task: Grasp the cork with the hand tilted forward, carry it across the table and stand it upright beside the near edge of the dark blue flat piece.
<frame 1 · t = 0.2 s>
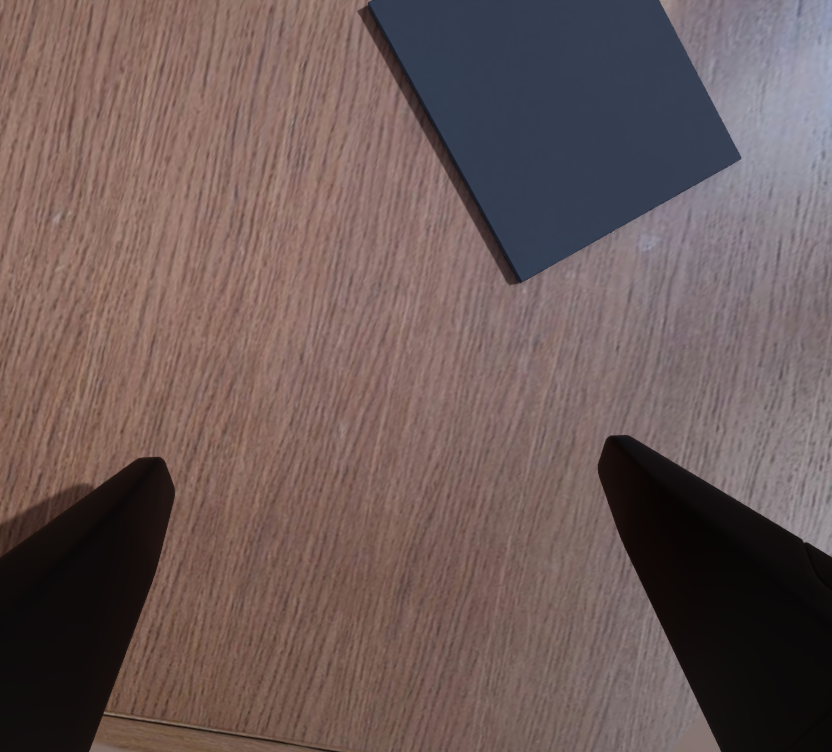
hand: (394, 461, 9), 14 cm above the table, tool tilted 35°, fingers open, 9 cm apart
dark blue flat piece: (558, 87, 24), on the table
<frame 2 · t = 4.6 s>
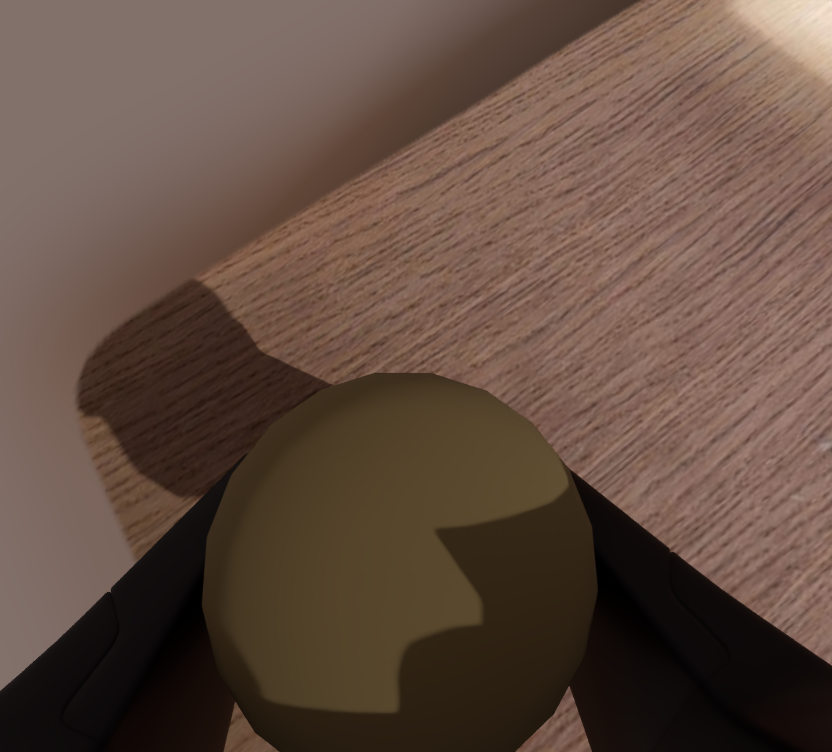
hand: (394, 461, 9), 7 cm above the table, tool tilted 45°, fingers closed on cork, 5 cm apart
cork: (388, 509, 16), on the table, touching gripper
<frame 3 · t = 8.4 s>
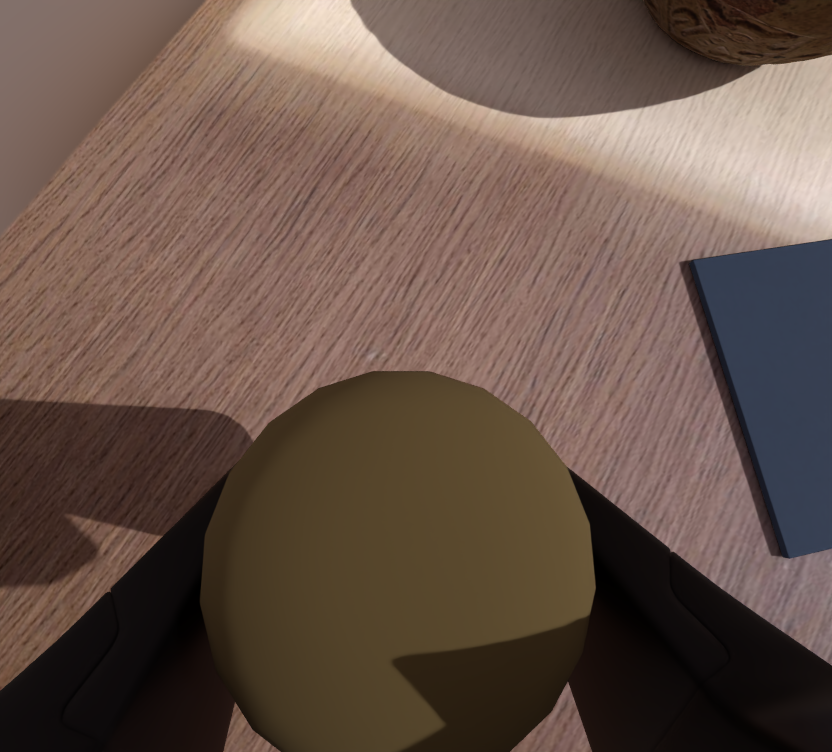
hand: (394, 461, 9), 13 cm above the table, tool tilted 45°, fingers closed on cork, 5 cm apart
cork: (388, 508, 16), point 6 cm above the table, touching gripper
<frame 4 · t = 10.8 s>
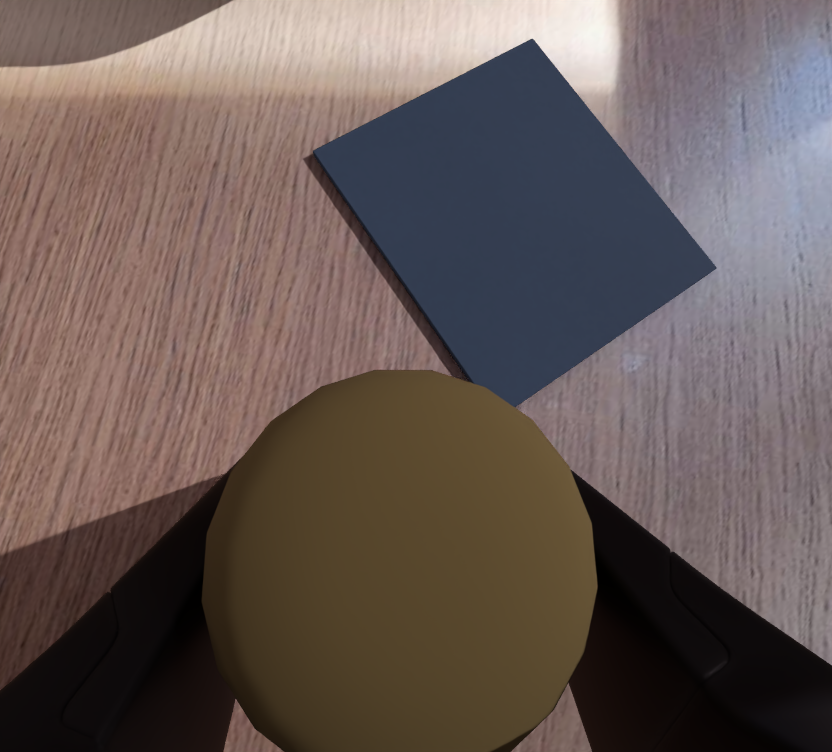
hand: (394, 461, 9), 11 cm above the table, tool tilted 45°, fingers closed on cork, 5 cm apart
dark blue flat piece: (514, 214, 24), on the table
cork: (388, 508, 16), point 5 cm above the table, touching gripper
when the fingers open (7 cm above the table, at t = 12.5 s): cork stays where it is, on the table.
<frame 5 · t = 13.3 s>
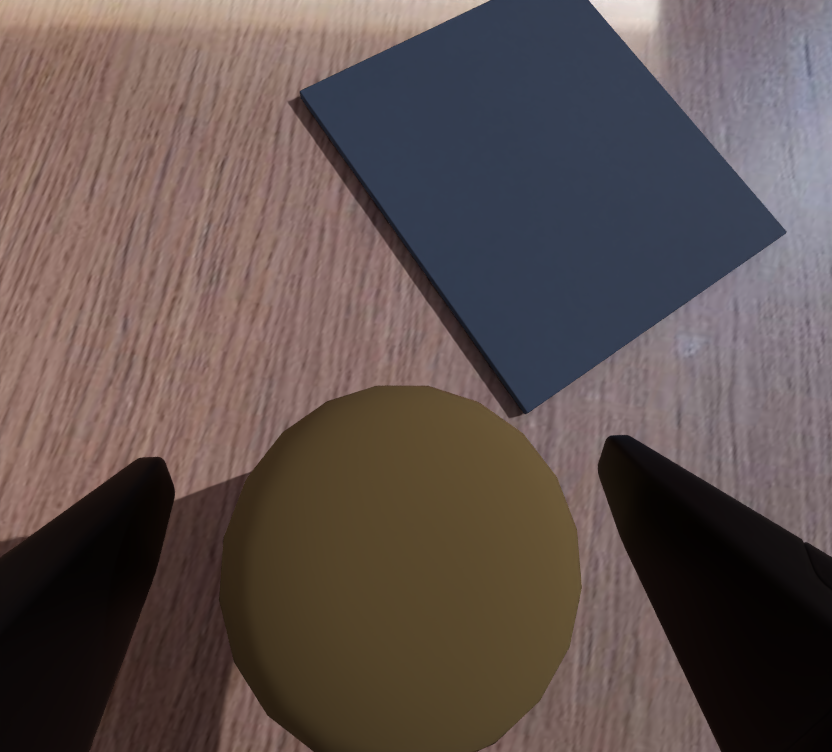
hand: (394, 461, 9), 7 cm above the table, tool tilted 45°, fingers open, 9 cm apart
dark blue flat piece: (542, 168, 20), on the table
cork: (388, 510, 16), on the table
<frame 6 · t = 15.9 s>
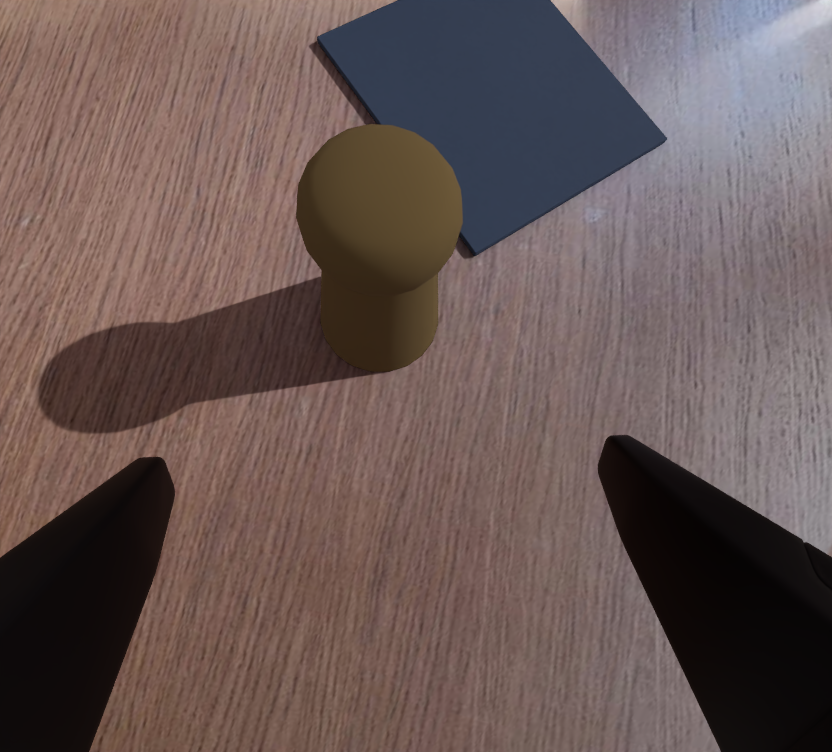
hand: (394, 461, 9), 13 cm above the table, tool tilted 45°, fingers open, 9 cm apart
dark blue flat piece: (491, 93, 27), on the table
cork: (379, 316, 24), on the table
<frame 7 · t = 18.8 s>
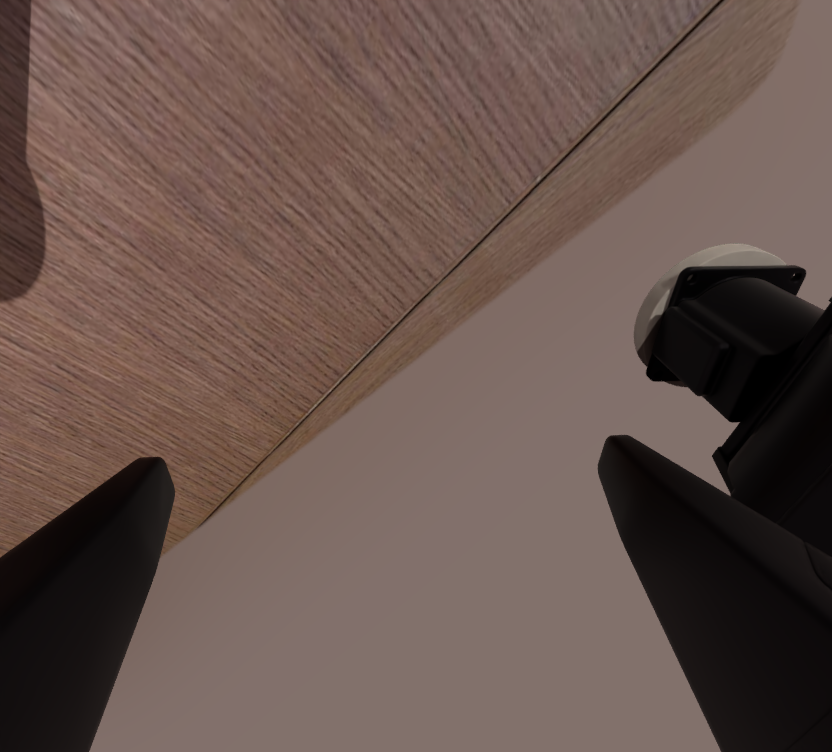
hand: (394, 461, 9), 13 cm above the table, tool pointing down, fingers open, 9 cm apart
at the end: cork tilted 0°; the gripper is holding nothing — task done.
